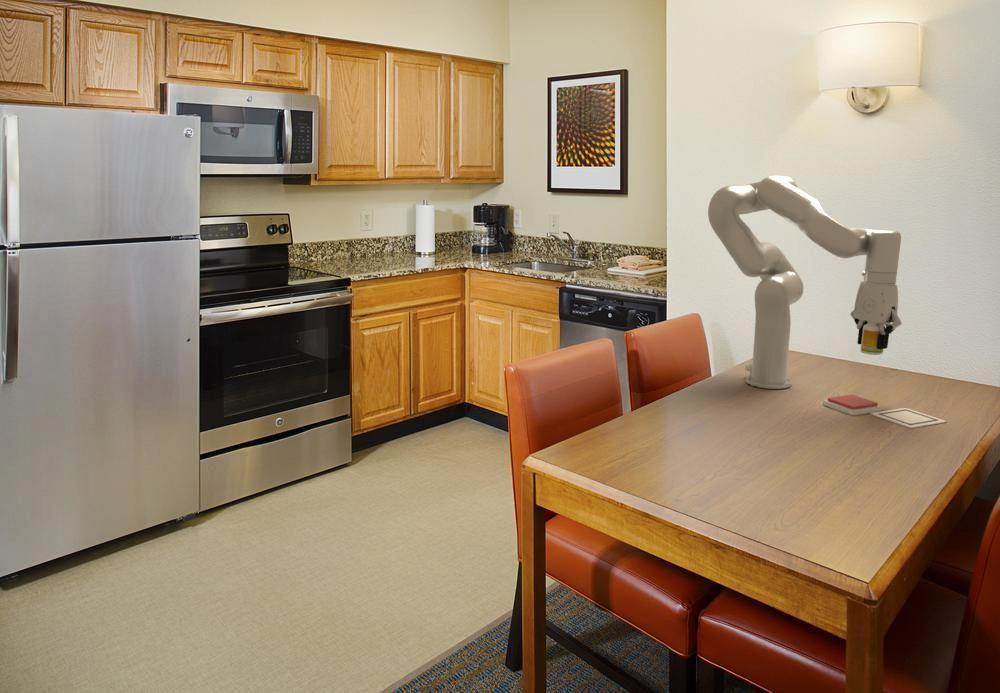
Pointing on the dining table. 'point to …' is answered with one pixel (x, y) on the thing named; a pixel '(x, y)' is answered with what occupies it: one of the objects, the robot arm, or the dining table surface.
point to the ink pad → (852, 405)
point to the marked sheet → (908, 418)
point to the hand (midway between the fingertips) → (872, 345)
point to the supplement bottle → (870, 339)
